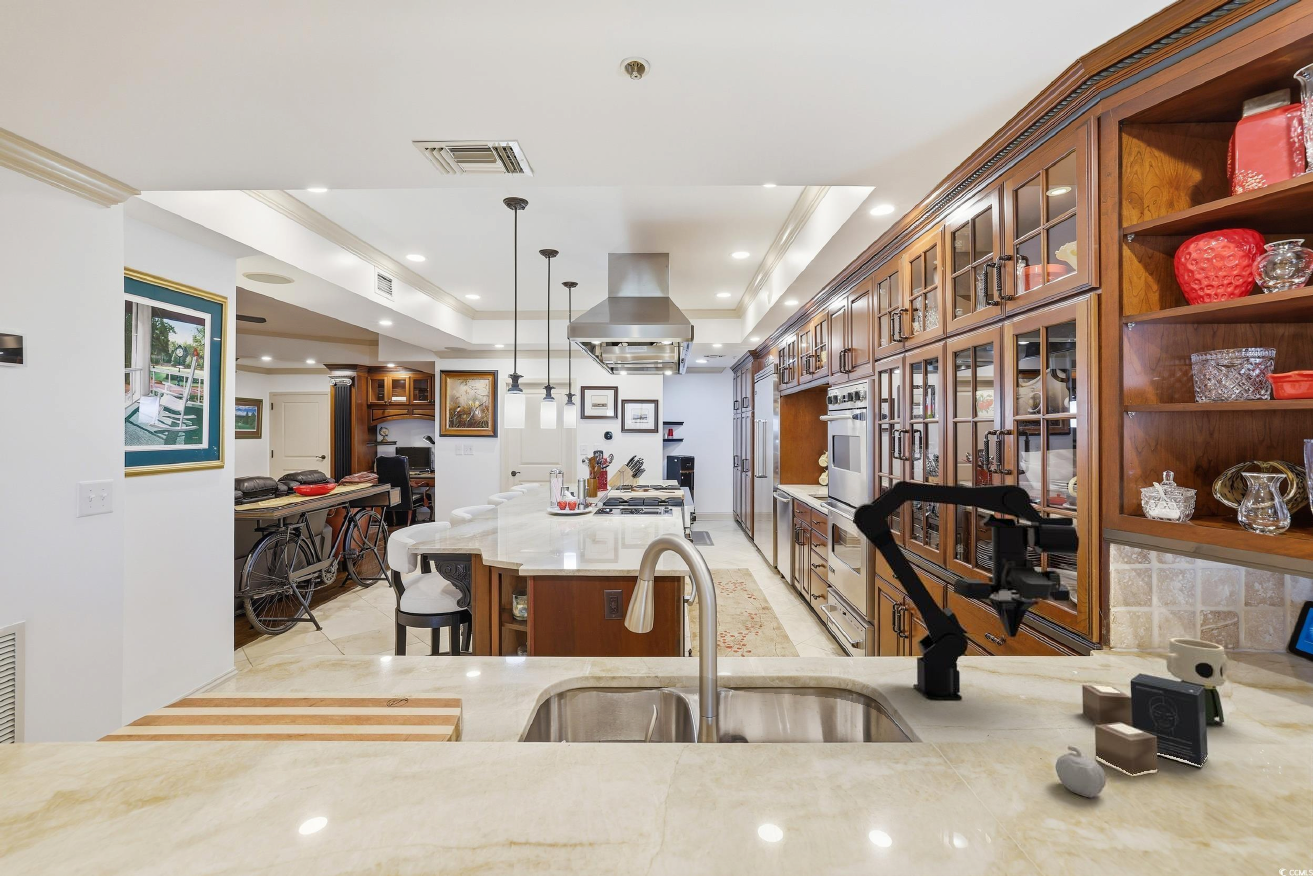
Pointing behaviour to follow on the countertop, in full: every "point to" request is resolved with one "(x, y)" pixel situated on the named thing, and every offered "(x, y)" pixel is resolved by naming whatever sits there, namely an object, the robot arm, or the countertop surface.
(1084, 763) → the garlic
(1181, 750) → the box
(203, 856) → the countertop surface
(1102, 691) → the walnut cube far
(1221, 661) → the character mug
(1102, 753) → the walnut cube near
